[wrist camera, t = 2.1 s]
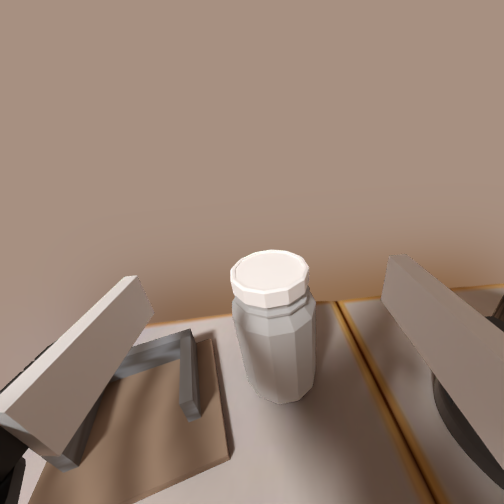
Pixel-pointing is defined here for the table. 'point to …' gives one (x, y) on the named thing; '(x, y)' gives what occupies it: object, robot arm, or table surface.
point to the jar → (275, 323)
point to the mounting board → (143, 428)
